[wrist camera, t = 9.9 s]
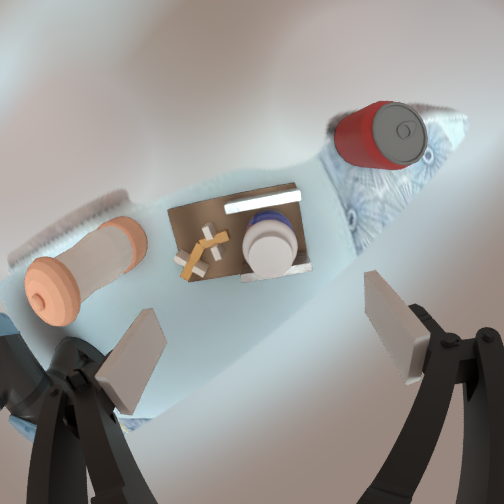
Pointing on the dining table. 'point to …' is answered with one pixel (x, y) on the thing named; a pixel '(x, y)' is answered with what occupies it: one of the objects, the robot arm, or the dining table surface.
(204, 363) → the dining table surface
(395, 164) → the beer can
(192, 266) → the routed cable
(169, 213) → the board
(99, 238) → the pepper shaker
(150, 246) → the dining table surface
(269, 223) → the pill bottle
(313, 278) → the dining table surface
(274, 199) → the end holder
